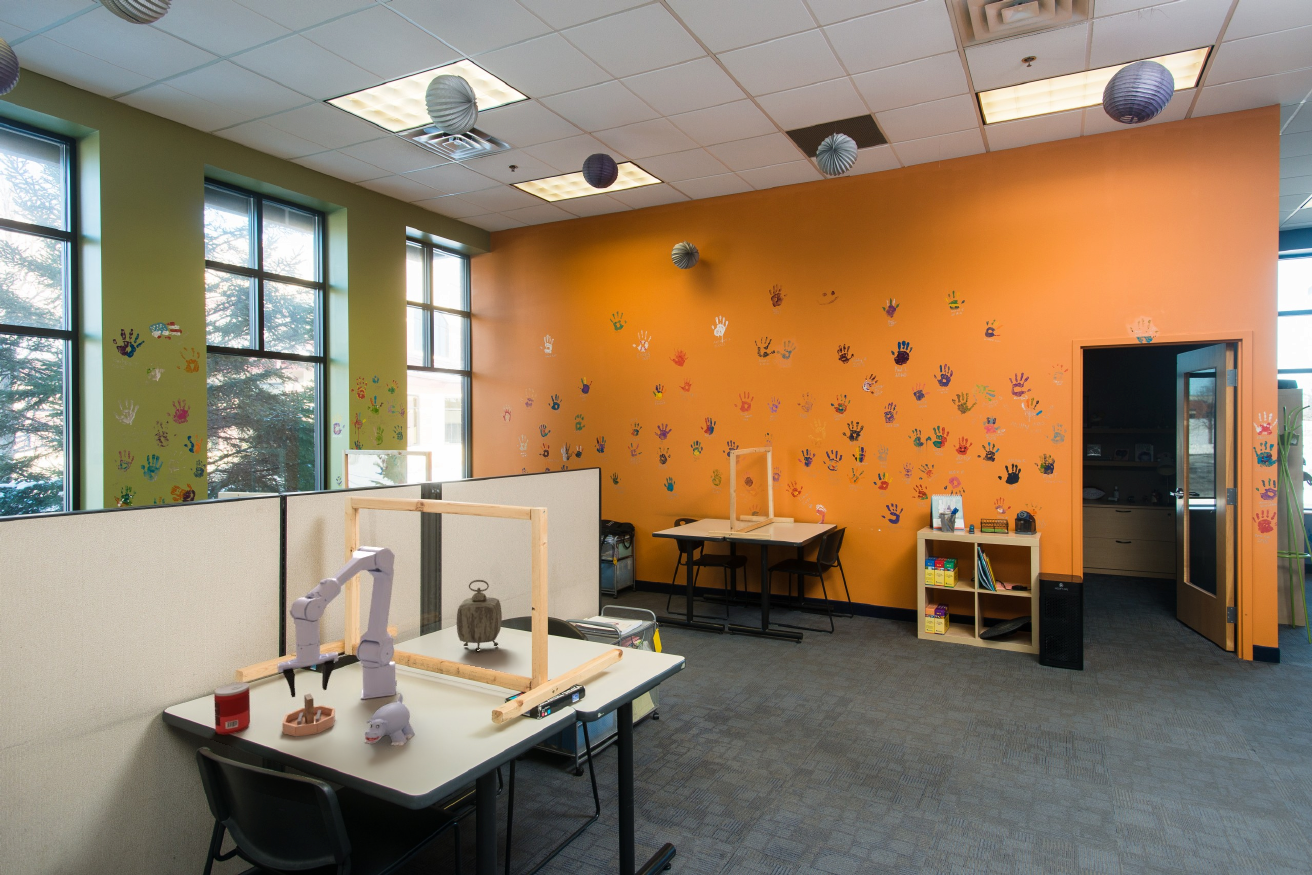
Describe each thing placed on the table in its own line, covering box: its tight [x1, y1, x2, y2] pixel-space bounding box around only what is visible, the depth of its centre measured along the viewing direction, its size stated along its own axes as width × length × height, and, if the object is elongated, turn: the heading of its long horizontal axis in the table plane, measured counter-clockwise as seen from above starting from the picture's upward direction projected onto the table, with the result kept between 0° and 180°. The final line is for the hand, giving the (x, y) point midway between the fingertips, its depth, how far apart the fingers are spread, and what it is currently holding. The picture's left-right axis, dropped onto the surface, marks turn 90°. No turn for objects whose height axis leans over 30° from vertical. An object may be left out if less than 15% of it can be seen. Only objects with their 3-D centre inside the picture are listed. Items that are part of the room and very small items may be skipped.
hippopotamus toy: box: [363, 692, 416, 747], centre depth 177 cm, size 11×15×10 cm
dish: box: [281, 705, 336, 737], centre depth 186 cm, size 12×12×3 cm
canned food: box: [213, 682, 251, 735], centre depth 185 cm, size 8×8×11 cm
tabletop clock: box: [456, 579, 503, 650], centre depth 245 cm, size 14×9×25 cm, turn 93°
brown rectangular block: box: [303, 693, 315, 724], centre depth 186 cm, size 2×4×7 cm, turn 37°
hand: (309, 692), depth 186 cm, fingers open, 7 cm apart
